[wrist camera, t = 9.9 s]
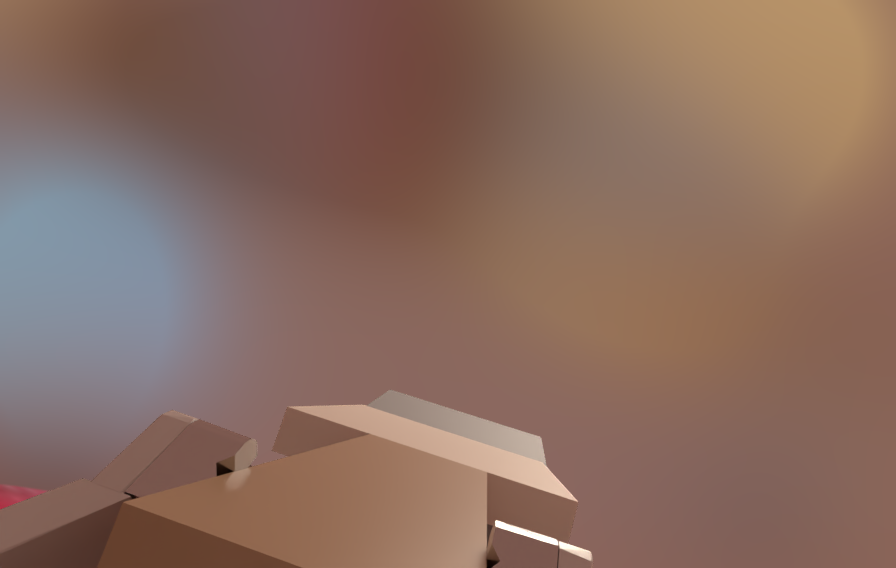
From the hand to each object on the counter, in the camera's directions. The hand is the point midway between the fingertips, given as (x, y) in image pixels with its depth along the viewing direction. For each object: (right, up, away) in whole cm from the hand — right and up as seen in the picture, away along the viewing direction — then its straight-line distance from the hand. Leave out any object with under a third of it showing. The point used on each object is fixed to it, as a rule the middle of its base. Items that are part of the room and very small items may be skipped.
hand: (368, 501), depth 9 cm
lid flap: (0, -3, +8) cm, 9 cm away
